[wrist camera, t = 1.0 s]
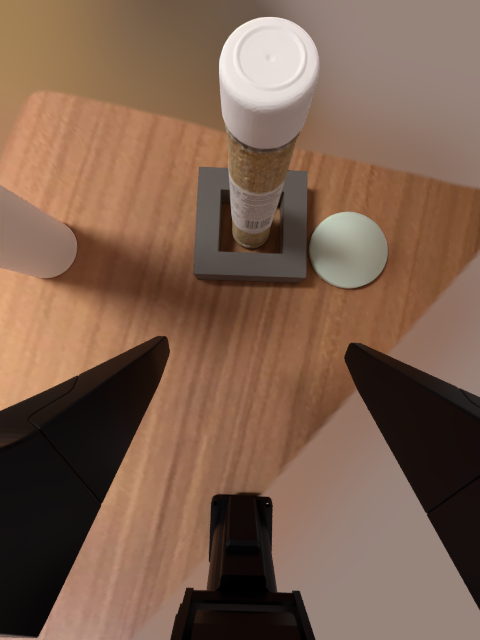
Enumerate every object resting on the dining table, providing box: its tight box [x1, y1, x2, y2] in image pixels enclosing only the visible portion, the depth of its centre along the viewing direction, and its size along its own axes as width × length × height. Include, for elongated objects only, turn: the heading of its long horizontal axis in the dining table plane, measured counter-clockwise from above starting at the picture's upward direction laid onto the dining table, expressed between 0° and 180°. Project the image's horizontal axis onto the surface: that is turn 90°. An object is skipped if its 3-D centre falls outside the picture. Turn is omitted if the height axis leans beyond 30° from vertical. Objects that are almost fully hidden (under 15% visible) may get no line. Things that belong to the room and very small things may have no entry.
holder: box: [193, 167, 307, 283], centre depth 20 cm, size 12×12×2 cm
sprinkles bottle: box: [219, 17, 320, 248], centre depth 14 cm, size 5×5×13 cm
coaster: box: [309, 212, 388, 289], centre depth 21 cm, size 9×9×1 cm
